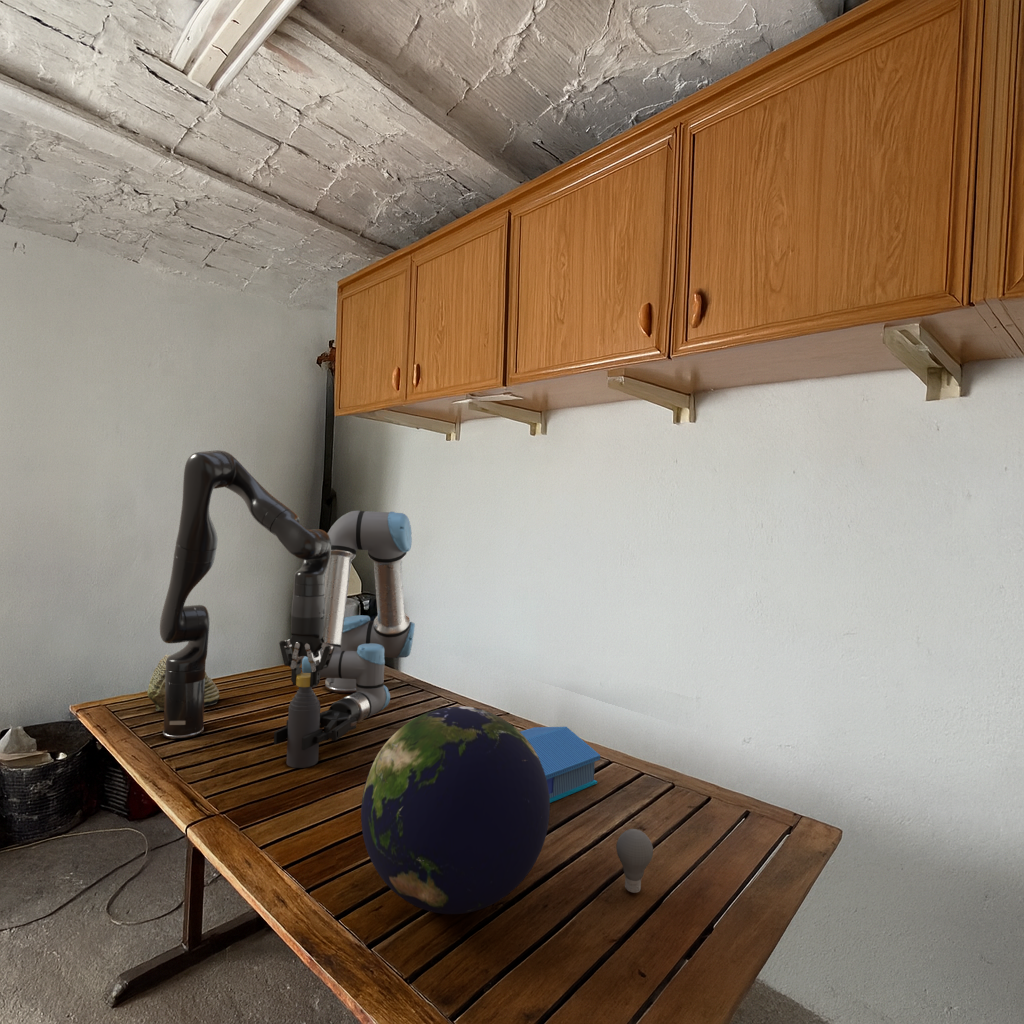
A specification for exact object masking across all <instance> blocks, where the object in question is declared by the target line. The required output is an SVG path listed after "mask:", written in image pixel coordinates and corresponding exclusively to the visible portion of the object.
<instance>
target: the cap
mask: <svg viewBox="0 0 1024 1024" xmlns="http://www.w3.org/2000/svg"><path fill="white" fill-rule="evenodd" d="M310 677H311V673H303V672H301V674H298V675H297V677H296V685H295V686H296V687H298V688H299V687H310Z"/></svg>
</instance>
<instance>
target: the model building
mask: <svg viewBox="0 0 1024 1024" xmlns="http://www.w3.org/2000/svg"><path fill="white" fill-rule="evenodd" d="M519 732H520V733H521V734H522V735H523V736H524V737H525V738H526V739H527V740H528V742H529V743H530V744H531V745H532V747H533V749H534V750H535V752H536V754H537V755H538V757H539V759H540V762H541V765H542V767H543V770H544V773H545V776H546V780H547V784H548V789H549V798H550V804H551V803H554V802H556V801H558V800H561V799H563V798H566V797H568V796H572V794H576V793H578V792H581V791H583V790H585V789H587V788H590V787H592V786H594V785H597V784H598V781H597V780H596V779H595V763H596V762H598V761H600V760H601V754H600V753H599V752H598V751H596V750H595V749H594V748H593V747H591V746H590V745H589V744H588V743H587V742H586V741H584V740H583V739H582V738H580V737H579V736H578V735H577V734H576V733H574V731H572V730H571V729H570V728H569V727H568V726H536V727H535V726H534V727H531V728H528V729H524V730H521V731H519Z"/></svg>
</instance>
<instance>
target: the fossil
mask: <svg viewBox="0 0 1024 1024" xmlns="http://www.w3.org/2000/svg"><path fill="white" fill-rule="evenodd" d="M171 655H172V654H165V655H164V656H163V657H162V658H161V659H160V660H159V662H158V663H157V666H156V667H155V669H154V670H153V672H152V675H151V677H150V680H149V684H148V688H147V697H148V699H149V700H150V701H152V703H153V704H154V706H155V711H158V712H159V711H162V712H163V711H164V705H165V674H166V660H167V658H168V657H169V656H171ZM220 698H221V696H220V690H219V688H218V686H217V685H216V683H215V682H214V681H213V679H212V678H211V677H209V675H208V674H207V672H206V671H205V693H204V707H207V706H213V705H215V704H217V703H218V701H219V699H220Z"/></svg>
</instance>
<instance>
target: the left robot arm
mask: <svg viewBox="0 0 1024 1024" xmlns="http://www.w3.org/2000/svg"><path fill="white" fill-rule="evenodd" d="M221 488H226V489H227V490H229V491H231V492H233V493H235V494H236V495H238V496H239V497H240V498H241V499H242V500H243V501H244V503H245V505H246V507H247V509H248V511H249V513H250V515H251V516H252V518H253V519H254V520H255V521H256V522H257V523H258V524H259V525H260V526H262V527H263V528H264V529H265V530H267V531H268V532H269V533H270V534H272V535H274V536H275V537H276V538H277V539H278V542H280V544H281V545H282V546H283V547H284V548H285V550H286V551H288V552H289V553H290V554H291V555H292V556H293V557H295V558H297V559H299V560H302V564H301V567H300V568H299V569H298V570H297V571H295V573H294V577H293V593H292V594H293V595H292V601H291V616H290V617H291V618H290V633H291V636H290V638H289V639H288V638H287V639H284V640H280V641H279V643H278V645H279V648H280V649H279V650H280V653H281V657H282V660H283V665H284V666H286V667H289V668H290V670H291V676H290V678H291V679H290V680H291V683H292V685H293V686H297V685H296V677H297V675H298V674H301V673H302V659H303V658H304V656H306V657H308V661H309V663H310V665H311V670H312V672H311V677H310V687H312V688H316V687H317V686H318V685H319V684H320V682H321V678H320V670H323V669H325V668H327V667H328V665H329V663H330V660H331V657H332V654H333V651H334V648H335V646H334V645H333V644H332V645H329V644H327V643H325V642H324V639H323V633H324V618H325V599H324V591H325V574H326V571H327V568H328V563H329V559H330V555H331V540H330V537H329V535H328V534H327V533H328V532H326V531H325V530H324V529H319V528H313V529H312V528H311V529H308V528H306V527H304V526H303V525H302V524H301V523H300V521H301V520H300V517H299V516H298V514H296V512H295V511H293V510H291V508H289V507H288V506H286V505H285V504H284V503H283V502H281V501H280V500H278V499H277V498H276V497H274V495H272V494H271V493H270V492H268V491H267V490H266V488H265V487H263V486H262V484H260V483H259V481H258V480H257V479H255V478H254V476H253V475H252V474H251V473H250V472H249V471H248V470H247V469H246V468H245V467H244V465H243V464H241V463H240V461H239V460H238V459H237V458H236V457H235V456H233V454H231V453H230V452H228V451H226V450H206V451H205V450H204V451H196V452H194V453H192V454H191V455H190V456H189V457H188V458H187V460H186V463H185V465H184V471H183V482H182V501H181V503H182V504H181V511H180V519H179V525H178V532H177V537H176V541H175V547H174V553H173V558H172V559H173V561H172V567H171V575H170V580H169V585H168V589H167V593H166V596H165V600H164V603H163V608H162V611H161V616H160V621H159V636H160V638H161V641H163V642H164V644H180V643H186V645H185V646H184V647H183V648H181V649H180V650H179V651H177V652H174V653H172V654H170V655H171V656H169V657H168V658H167V660H166V674H165V705H164V710H163V731H162V737H164V738H166V739H169V740H185V739H190V738H191V739H192V738H194V737H197V736H199V735H202V734H203V732H204V730H205V729H204V726H205V725H204V722H205V721H204V718H205V706H204V693H205V672H206V664H207V663H206V662H207V661H206V660H207V658H208V657H207V656H208V648H209V647H208V646H209V636H210V622H211V621H210V613H209V610H208V609H207V607H206V606H205V605H203V604H192V605H191V604H190V605H185V603H186V601H187V599H188V597H189V595H190V593H191V592H192V591H193V590H194V589H195V587H196V586H197V585H198V584H199V583H200V582H201V581H202V580H203V578H204V577H205V576H206V575H207V574H208V573H209V571H210V570H211V569H212V568H213V566H214V563H215V559H216V553H217V548H218V534H217V530H216V529H215V526H214V523H213V521H212V518H211V515H210V505H211V498H212V494H213V491H214V490H217V489H221ZM292 648H293V650H292ZM321 648H322V652H323V655H322V658H321V655H320V649H321ZM313 656H315V657H313ZM320 659H321V661H320Z"/></svg>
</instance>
